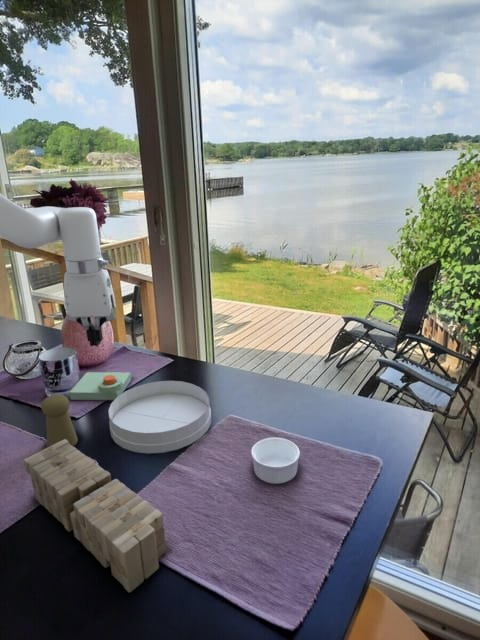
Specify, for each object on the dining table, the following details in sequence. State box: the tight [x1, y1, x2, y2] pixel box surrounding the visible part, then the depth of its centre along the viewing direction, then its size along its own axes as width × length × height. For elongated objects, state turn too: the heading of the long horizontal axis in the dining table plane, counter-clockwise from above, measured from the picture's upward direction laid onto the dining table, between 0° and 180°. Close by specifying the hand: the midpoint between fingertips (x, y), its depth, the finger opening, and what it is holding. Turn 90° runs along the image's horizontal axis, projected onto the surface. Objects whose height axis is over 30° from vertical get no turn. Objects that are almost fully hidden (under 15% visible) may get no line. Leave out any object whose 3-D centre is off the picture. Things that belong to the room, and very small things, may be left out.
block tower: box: [23, 439, 167, 593], centre depth 70 cm, size 8×8×29 cm
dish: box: [108, 380, 212, 454], centre depth 97 cm, size 22×22×5 cm
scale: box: [69, 371, 132, 401], centre depth 112 cm, size 12×11×4 cm
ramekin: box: [250, 437, 301, 485], centre depth 81 cm, size 9×9×4 cm
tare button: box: [103, 375, 116, 385], centre depth 109 cm, size 3×3×2 cm
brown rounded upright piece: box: [40, 393, 79, 448], centre depth 90 cm, size 6×6×11 cm
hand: (95, 343), depth 102 cm, fingers closed
